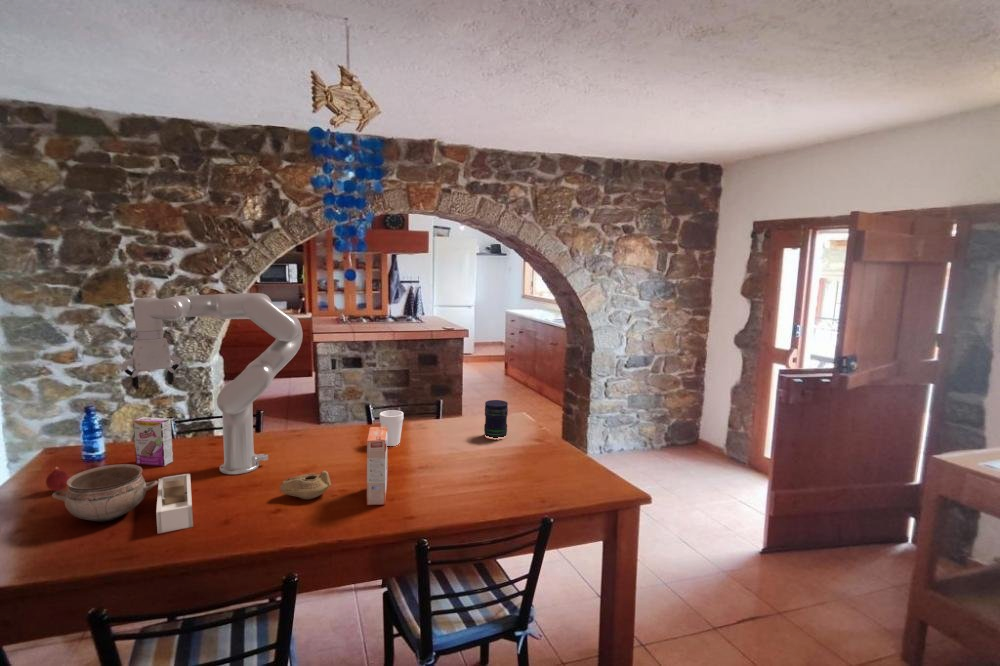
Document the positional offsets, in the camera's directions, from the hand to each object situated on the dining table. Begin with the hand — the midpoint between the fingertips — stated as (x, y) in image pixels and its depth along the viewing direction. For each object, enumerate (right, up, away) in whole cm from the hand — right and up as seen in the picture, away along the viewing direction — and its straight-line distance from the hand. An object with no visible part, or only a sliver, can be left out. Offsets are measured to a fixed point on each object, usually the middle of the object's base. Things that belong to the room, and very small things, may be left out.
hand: (153, 386), depth 182 cm
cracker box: (+76, -35, -8) cm, 84 cm away
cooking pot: (+3, -35, -25) cm, 43 cm away
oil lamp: (+54, -34, -9) cm, 65 cm away
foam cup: (+71, -28, +40) cm, 86 cm away
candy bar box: (-8, -29, +14) cm, 34 cm away
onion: (-23, -32, -11) cm, 41 cm away
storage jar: (+113, -27, +53) cm, 128 cm away
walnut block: (+19, -32, -21) cm, 42 cm away
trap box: (+20, -35, -22) cm, 46 cm away
